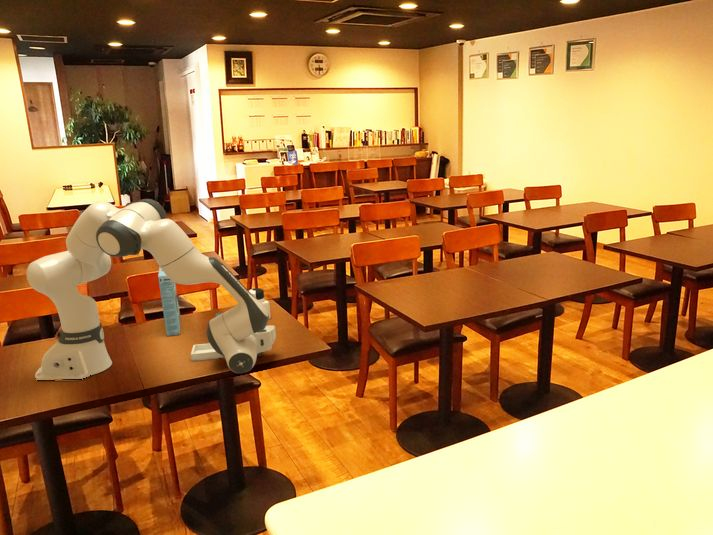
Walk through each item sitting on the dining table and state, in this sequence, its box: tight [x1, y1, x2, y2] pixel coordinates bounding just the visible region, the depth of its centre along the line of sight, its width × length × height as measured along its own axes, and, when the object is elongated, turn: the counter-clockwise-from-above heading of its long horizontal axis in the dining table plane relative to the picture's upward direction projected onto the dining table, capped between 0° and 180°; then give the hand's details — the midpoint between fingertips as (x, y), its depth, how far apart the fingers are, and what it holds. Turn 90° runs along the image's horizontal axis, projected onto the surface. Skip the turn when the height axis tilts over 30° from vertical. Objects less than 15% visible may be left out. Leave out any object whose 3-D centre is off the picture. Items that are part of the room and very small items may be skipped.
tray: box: [190, 342, 224, 362], centre depth 196 cm, size 10×8×2 cm
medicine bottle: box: [248, 287, 272, 320], centre depth 226 cm, size 7×7×12 cm
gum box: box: [157, 266, 181, 337], centre depth 221 cm, size 19×5×23 cm, turn 15°
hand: (245, 327), depth 196 cm, fingers closed on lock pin, 4 cm apart
